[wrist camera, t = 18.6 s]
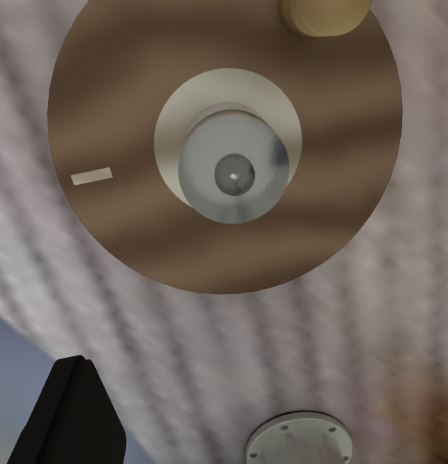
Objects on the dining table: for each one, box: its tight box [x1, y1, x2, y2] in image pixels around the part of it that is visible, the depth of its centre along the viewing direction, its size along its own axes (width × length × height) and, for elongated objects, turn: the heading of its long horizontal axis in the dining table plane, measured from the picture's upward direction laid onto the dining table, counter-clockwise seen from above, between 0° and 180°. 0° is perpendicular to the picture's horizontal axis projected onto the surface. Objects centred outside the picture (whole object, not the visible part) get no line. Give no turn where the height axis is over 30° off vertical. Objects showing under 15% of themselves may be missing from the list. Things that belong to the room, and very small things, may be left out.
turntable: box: [47, 0, 403, 294], centre depth 27 cm, size 26×26×8 cm
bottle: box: [178, 102, 289, 224], centre depth 27 cm, size 7×7×7 cm
